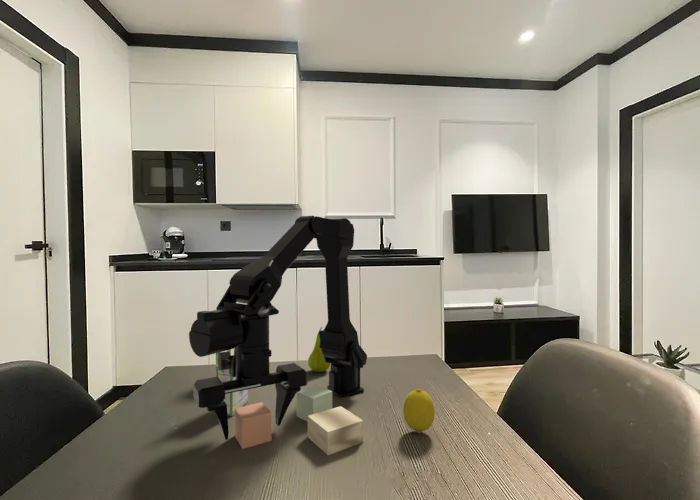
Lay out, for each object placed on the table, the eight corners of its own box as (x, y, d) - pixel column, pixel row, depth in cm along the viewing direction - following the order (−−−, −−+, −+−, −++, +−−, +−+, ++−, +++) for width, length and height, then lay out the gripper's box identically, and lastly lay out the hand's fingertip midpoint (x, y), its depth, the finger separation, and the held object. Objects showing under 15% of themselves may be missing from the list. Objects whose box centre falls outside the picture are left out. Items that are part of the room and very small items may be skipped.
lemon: (416, 443, 64) (416, 397, 64) (397, 429, 69) (397, 386, 69) (441, 436, 66) (441, 391, 66) (421, 423, 71) (421, 381, 71)
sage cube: (315, 408, 78) (315, 384, 78) (332, 416, 74) (332, 391, 74) (296, 416, 74) (296, 391, 74) (313, 425, 71) (313, 398, 71)
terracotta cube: (261, 429, 69) (261, 402, 69) (271, 441, 65) (271, 412, 65) (234, 436, 66) (234, 408, 66) (242, 449, 62) (242, 419, 62)
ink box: (233, 416, 74) (233, 349, 74) (214, 415, 74) (214, 348, 74) (248, 402, 81) (248, 340, 81) (230, 401, 81) (230, 339, 81)
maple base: (340, 427, 70) (340, 406, 70) (363, 443, 64) (362, 420, 64) (307, 438, 66) (307, 415, 66) (327, 456, 60) (327, 432, 60)
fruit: (315, 366, 105) (315, 323, 105) (335, 369, 102) (335, 325, 102) (303, 373, 99) (303, 328, 99) (324, 376, 96) (324, 330, 96)
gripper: (285, 328, 77) (285, 403, 77) (187, 340, 67) (188, 426, 68) (308, 339, 68) (308, 425, 68) (199, 355, 58) (199, 455, 58)
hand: (252, 431), depth 66 cm, fingers open, 9 cm apart
